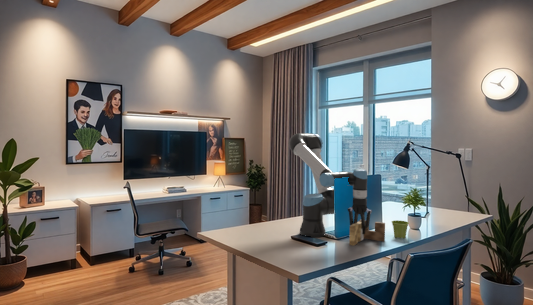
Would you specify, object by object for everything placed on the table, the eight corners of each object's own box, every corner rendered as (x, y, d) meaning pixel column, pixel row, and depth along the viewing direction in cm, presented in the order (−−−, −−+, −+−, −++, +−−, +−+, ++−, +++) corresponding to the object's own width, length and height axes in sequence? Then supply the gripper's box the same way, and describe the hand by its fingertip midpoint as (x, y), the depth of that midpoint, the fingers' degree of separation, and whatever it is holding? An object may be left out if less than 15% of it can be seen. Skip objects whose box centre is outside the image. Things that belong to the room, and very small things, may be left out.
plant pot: (397, 239, 200) (397, 224, 200) (388, 235, 209) (388, 220, 209) (411, 238, 202) (412, 223, 202) (402, 234, 211) (402, 220, 211)
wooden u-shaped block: (358, 237, 204) (359, 220, 203) (360, 236, 205) (360, 219, 205) (383, 241, 196) (384, 223, 196) (384, 240, 198) (385, 222, 197)
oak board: (354, 245, 188) (354, 226, 187) (349, 244, 189) (349, 226, 189) (362, 239, 199) (363, 221, 199) (358, 238, 201) (358, 221, 200)
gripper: (343, 196, 198) (343, 238, 199) (371, 199, 190) (371, 243, 191) (348, 195, 205) (348, 235, 206) (376, 197, 196) (375, 240, 197)
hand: (359, 239), depth 198 cm, fingers closed on oak board, 3 cm apart
